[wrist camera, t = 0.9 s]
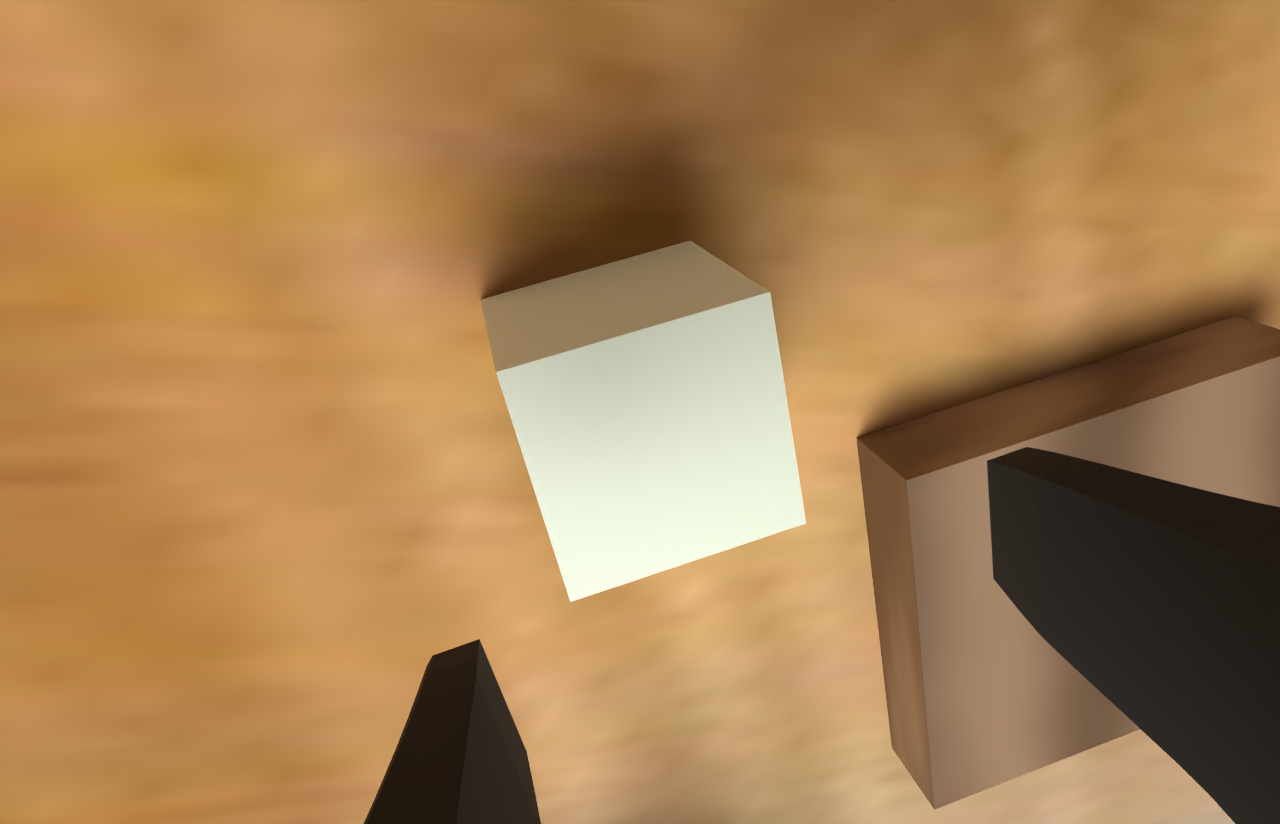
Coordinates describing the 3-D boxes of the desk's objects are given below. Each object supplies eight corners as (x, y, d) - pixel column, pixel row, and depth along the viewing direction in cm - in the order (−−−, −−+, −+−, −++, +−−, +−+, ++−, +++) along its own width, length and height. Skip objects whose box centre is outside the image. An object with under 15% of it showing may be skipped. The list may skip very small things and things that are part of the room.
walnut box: (1220, 311, 24) (1321, 342, 21) (1188, 623, 29) (1266, 679, 26) (848, 431, 22) (906, 480, 20) (885, 737, 27) (934, 809, 25)
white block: (689, 239, 19) (769, 291, 14) (725, 426, 21) (806, 523, 16) (480, 298, 18) (496, 371, 14) (539, 485, 20) (570, 601, 16)
